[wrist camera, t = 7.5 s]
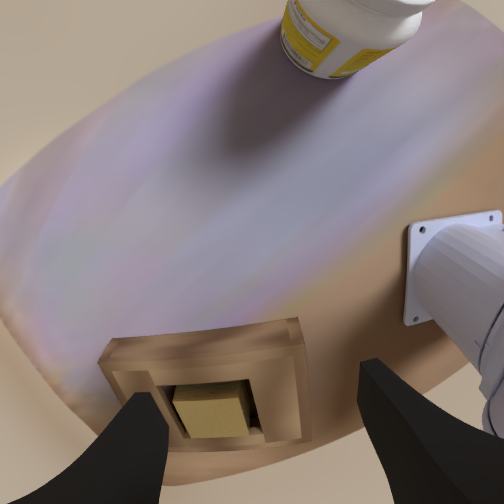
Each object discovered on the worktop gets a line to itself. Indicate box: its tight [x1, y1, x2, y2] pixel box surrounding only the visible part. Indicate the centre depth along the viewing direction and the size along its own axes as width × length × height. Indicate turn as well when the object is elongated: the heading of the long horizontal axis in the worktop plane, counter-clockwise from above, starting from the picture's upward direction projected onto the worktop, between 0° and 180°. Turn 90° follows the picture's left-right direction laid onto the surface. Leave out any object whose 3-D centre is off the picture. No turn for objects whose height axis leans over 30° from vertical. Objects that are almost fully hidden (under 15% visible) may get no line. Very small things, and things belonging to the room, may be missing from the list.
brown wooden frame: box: [98, 317, 312, 452], centre depth 21 cm, size 14×11×3 cm
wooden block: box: [173, 379, 250, 438], centre depth 20 cm, size 4×4×4 cm
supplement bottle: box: [280, 0, 436, 79], centre depth 10 cm, size 5×5×10 cm
